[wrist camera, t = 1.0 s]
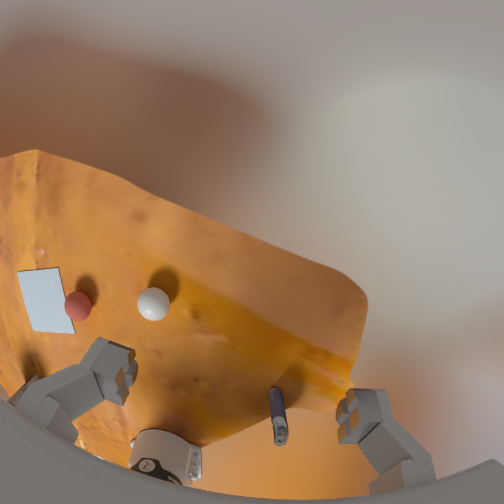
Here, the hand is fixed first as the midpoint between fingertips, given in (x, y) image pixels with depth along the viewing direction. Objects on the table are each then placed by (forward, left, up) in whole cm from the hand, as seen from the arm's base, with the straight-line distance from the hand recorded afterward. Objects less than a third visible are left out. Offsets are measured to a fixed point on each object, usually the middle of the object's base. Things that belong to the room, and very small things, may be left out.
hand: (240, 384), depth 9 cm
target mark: (-9, +44, -36) cm, 57 cm away
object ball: (-9, +32, -33) cm, 47 cm away
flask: (-34, -3, -36) cm, 49 cm away
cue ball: (-9, +16, -33) cm, 38 cm away
